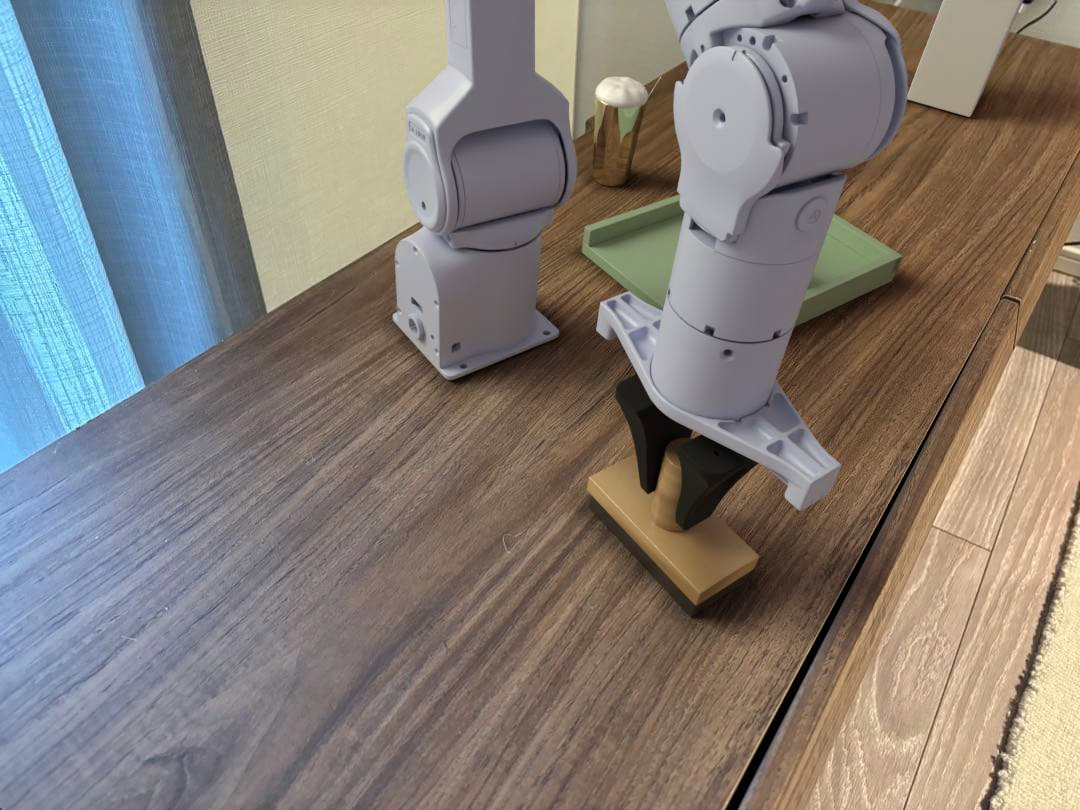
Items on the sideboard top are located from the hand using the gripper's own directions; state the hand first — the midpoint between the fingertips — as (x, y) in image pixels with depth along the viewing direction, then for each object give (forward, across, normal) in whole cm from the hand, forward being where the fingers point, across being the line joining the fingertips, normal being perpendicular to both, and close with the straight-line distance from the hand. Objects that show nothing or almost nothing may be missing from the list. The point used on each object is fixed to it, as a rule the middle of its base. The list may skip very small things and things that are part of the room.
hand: (675, 501), depth 48 cm
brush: (+4, 0, 0) cm, 4 cm away
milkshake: (+4, +34, -24) cm, 42 cm away
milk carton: (+4, +30, -69) cm, 75 cm away
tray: (+4, +18, -24) cm, 30 cm away
